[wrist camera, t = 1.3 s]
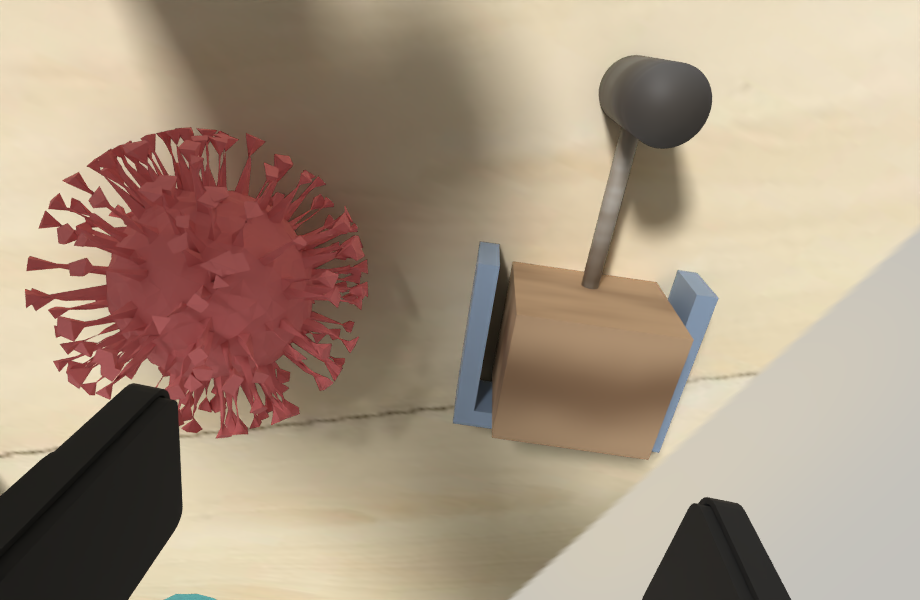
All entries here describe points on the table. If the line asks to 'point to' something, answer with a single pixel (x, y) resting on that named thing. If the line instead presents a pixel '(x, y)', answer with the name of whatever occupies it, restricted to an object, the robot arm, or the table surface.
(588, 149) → the table surface
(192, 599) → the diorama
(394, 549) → the table surface
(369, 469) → the table surface
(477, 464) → the table surface
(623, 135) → the tether block
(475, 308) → the blue-grey u-shaped piece
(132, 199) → the virus model
